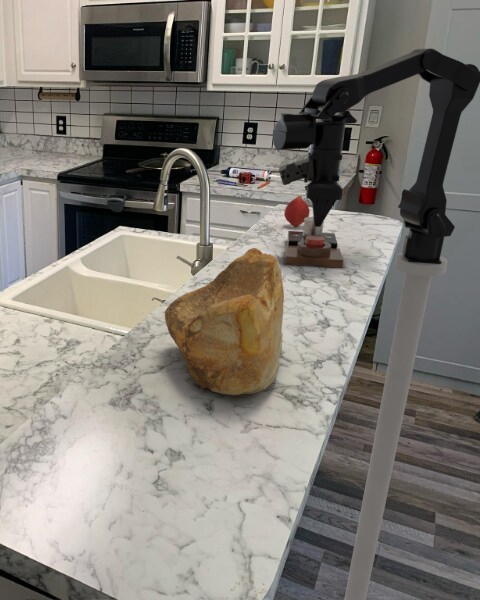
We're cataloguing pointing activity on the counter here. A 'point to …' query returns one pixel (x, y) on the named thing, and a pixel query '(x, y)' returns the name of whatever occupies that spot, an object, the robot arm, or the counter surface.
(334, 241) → the dial panel
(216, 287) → the rough brown rock
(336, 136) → the robot arm
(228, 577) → the counter surface
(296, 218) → the onion
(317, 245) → the button
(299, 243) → the button block
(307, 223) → the dial
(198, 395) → the counter surface
